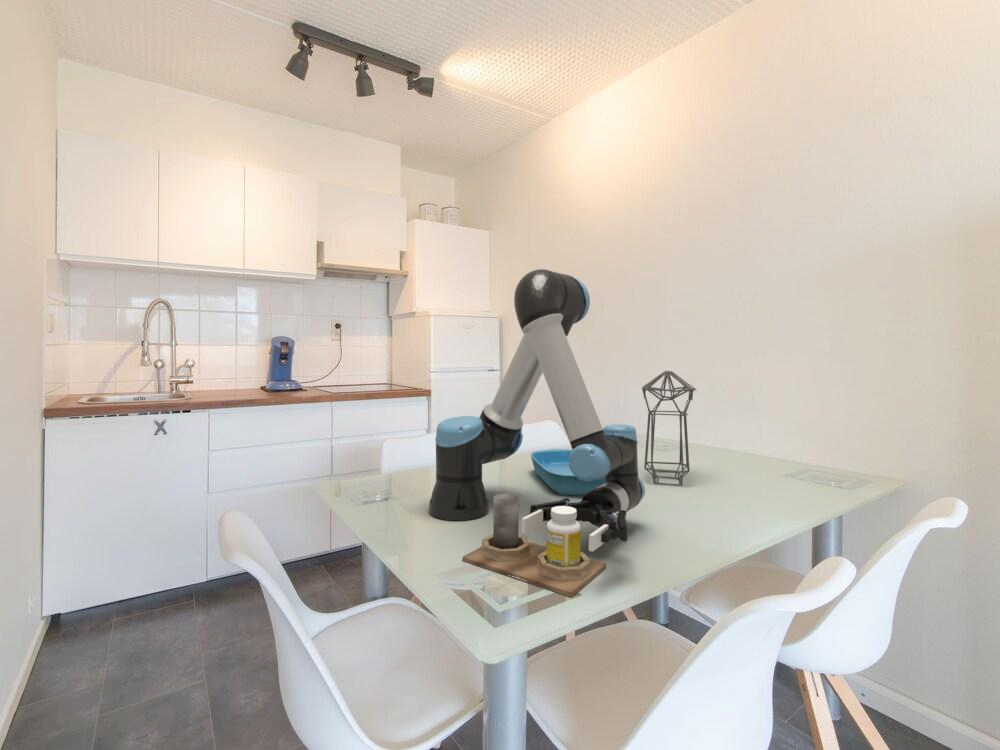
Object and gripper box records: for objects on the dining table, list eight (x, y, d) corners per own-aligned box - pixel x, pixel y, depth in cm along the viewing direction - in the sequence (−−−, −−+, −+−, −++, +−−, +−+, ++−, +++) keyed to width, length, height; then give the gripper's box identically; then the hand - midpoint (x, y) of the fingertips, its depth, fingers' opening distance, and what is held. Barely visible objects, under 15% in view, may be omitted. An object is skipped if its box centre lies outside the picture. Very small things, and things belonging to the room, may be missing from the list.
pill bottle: (576, 561, 93) (577, 504, 92) (583, 576, 87) (584, 515, 86) (544, 561, 93) (544, 504, 92) (548, 576, 86) (549, 515, 86)
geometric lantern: (640, 485, 149) (641, 371, 148) (641, 474, 164) (642, 370, 163) (696, 489, 144) (697, 371, 144) (691, 477, 159) (692, 370, 159)
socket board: (462, 560, 95) (462, 500, 94) (504, 538, 106) (504, 484, 105) (571, 597, 81) (572, 527, 80) (606, 567, 92) (607, 505, 92)
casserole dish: (631, 498, 136) (632, 473, 136) (554, 502, 132) (555, 476, 132) (585, 467, 173) (585, 447, 172) (523, 469, 169) (523, 449, 168)
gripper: (663, 535, 97) (622, 574, 79) (553, 510, 111) (498, 538, 94) (664, 497, 96) (623, 528, 79) (553, 477, 111) (498, 500, 94)
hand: (555, 534), depth 87 cm, fingers open, 13 cm apart
